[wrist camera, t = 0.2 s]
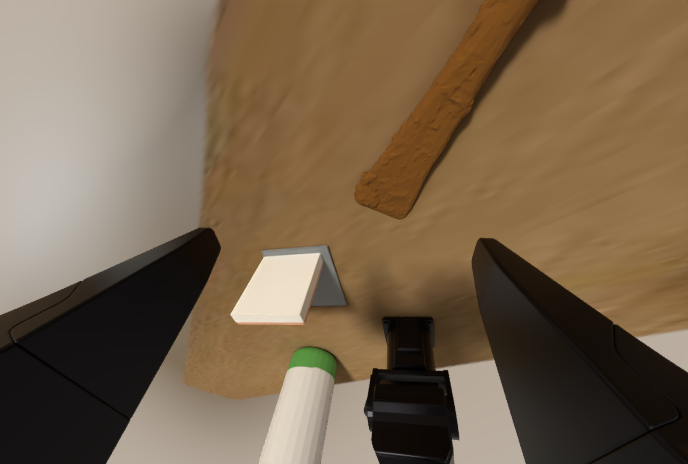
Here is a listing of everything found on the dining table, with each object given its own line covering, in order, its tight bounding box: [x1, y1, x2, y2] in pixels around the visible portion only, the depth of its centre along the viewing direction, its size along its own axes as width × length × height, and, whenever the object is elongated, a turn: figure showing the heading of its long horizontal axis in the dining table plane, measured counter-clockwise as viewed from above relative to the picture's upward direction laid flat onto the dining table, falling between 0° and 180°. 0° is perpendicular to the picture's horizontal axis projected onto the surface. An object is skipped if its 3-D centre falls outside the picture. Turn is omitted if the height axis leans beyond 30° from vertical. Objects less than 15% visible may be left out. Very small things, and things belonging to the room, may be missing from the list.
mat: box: [262, 245, 347, 306], centre depth 32 cm, size 10×8×1 cm
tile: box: [231, 253, 324, 325], centre depth 27 cm, size 2×7×8 cm, turn 102°
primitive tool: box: [354, 0, 538, 219], centre depth 18 cm, size 19×6×4 cm, turn 159°
